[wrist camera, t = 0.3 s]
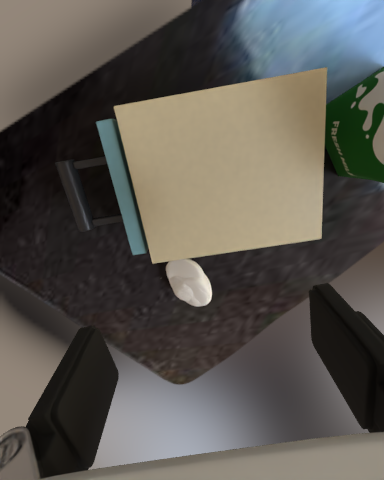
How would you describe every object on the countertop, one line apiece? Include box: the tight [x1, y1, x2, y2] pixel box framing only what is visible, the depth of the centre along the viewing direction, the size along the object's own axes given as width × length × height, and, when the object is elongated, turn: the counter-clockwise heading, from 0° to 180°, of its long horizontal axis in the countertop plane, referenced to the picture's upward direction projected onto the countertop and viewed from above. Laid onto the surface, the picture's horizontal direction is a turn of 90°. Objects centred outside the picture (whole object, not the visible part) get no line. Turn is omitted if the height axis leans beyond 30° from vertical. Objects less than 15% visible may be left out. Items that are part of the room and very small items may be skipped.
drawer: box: [55, 119, 148, 255], centre depth 23 cm, size 18×10×7 cm, turn 99°
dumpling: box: [166, 259, 212, 306], centre depth 30 cm, size 7×5×4 cm
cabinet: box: [114, 67, 327, 264], centre depth 22 cm, size 14×12×9 cm
